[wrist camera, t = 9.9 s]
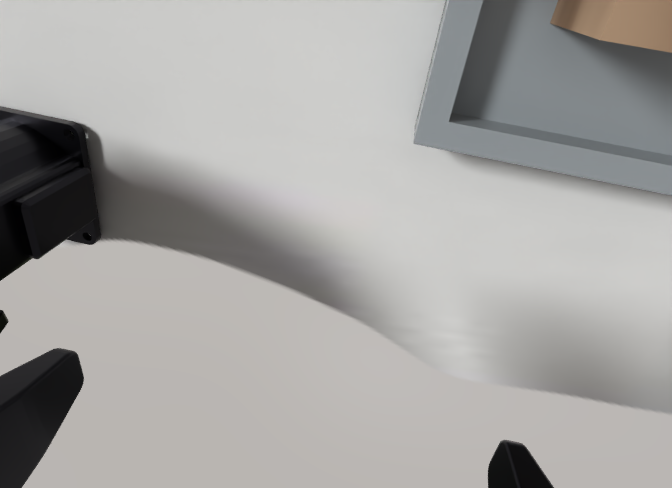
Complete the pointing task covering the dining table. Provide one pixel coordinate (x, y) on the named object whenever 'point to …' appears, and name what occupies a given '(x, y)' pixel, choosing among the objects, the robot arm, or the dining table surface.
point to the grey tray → (547, 96)
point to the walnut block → (619, 21)
